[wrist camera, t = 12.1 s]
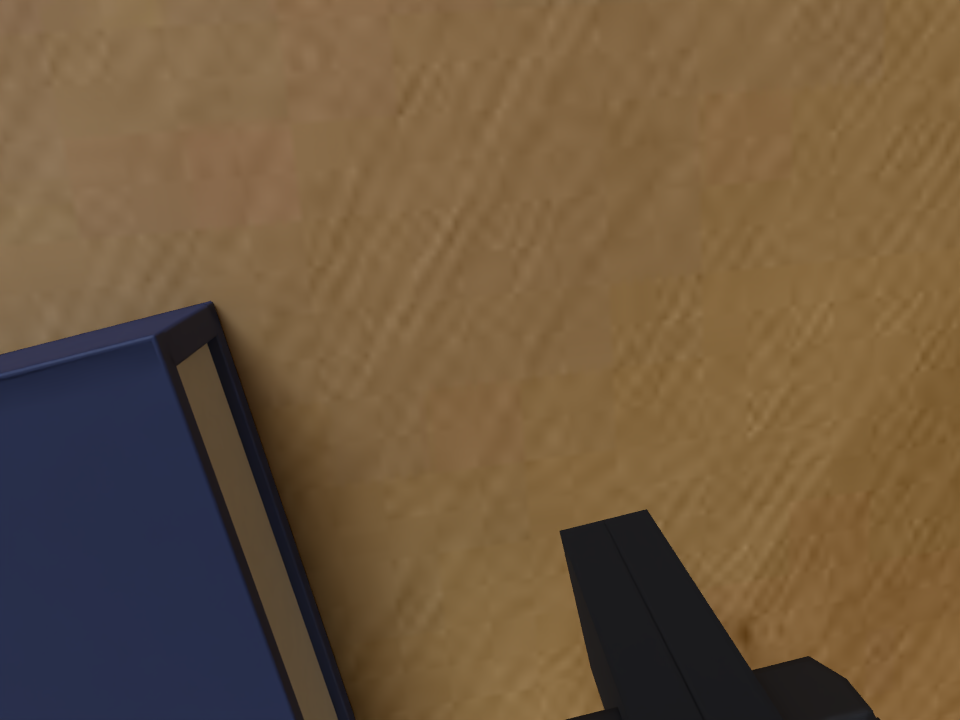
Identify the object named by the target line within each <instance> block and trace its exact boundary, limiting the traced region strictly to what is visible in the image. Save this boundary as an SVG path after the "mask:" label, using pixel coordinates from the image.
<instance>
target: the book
mask: <svg viewBox="0 0 960 720" xmlns="http://www.w3.org/2000/svg"><path fill="white" fill-rule="evenodd" d="M0 720H355V717H354V714H353V711H352V708H351V705H350V702H349V699H348V696H347V694H346V691H345V688H344V685H343V682H342V679H341V676H340V673H339V670H338V667H337V664H336V661H335V658H334V655H333V653H332V650H331V647H330V644H329V641H328V638H327V635H326V632H325V629H324V626H323V623H322V620H321V617H320V614H319V611H318V609H317V606H316V603H315V600H314V597H313V594H312V591H311V588H310V585H309V582H308V579H307V576H306V573H305V570H304V567H303V565H302V562H301V559H300V556H299V553H298V550H297V547H296V544H295V541H294V538H293V535H292V532H291V529H290V526H289V524H288V521H287V518H286V515H285V512H284V509H283V506H282V503H281V500H280V497H279V494H278V491H277V488H276V485H275V482H274V480H273V477H272V474H271V471H270V468H269V465H268V462H267V459H266V456H265V453H264V450H263V447H262V444H261V441H260V438H259V436H258V433H257V430H256V427H255V424H254V421H253V418H252V415H251V412H250V409H249V406H248V403H247V400H246V397H245V395H244V392H243V389H242V386H241V383H240V380H239V377H238V374H237V371H236V368H235V365H234V362H233V359H232V356H231V353H230V351H229V348H228V345H227V342H226V339H225V336H224V333H223V330H222V327H221V324H220V321H219V318H218V315H217V312H216V310H215V307H214V304H213V302H211V301H209V302H205V303H201V304H197V305H193V306H189V307H185V308H181V309H178V310H174V311H170V312H166V313H162V314H158V315H154V316H150V317H146V318H142V319H138V320H134V321H130V322H127V323H123V324H119V325H115V326H111V327H107V328H103V329H99V330H95V331H91V332H87V333H83V334H79V335H75V336H72V337H68V338H64V339H60V340H56V341H52V342H48V343H44V344H40V345H36V346H32V347H28V348H24V349H21V350H17V351H13V352H9V353H5V354H1V355H0Z"/></svg>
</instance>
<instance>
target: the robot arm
mask: <svg viewBox="0 0 960 720" xmlns="http://www.w3.org/2000/svg"><path fill="white" fill-rule="evenodd" d="M560 535H561V539H562V544H563V548H564V552H565V557H566V561H567V565H568V570H569V574H570V579H571V583H572V587H573V592H574V596H575V600H576V605H577V609H578V614H579V618H580V622H581V627H582V631H583V636H584V640H585V644H586V649H587V653H588V657H589V662H590V666H591V670H592V673H593V676H594V679H595V682H596V685H597V688H598V691H599V694H600V697H601V700H602V703H603V706H604V709H605V710H602V711H598V712H594V713H590V714H586V715H582V716H578V717H574V718H570V719H566V720H880V719H879V718H876V717H875V715H874V713H873V710H872V709H871V708H870V707H869V706H868V704H867V703H866V702H865V701H864V699H863V698H862V697H861V696H860V695H859V693H858V692H857V691H856V690H855V689H854V687H853V686H852V685H851V684H850V683H849V681H848V680H847V679H846V678H844V677H842V676H841V675H839V674H838V673H836V672H834V671H833V670H831V669H829V668H828V667H826V666H824V665H823V664H821V663H819V662H818V661H816V660H814V659H813V658H811V657H809V656H807V657H803V658H799V659H795V660H791V661H787V662H783V663H779V664H775V665H771V666H767V667H763V668H759V669H755V670H751V669H750V667H749V666H748V664H747V663H746V661H745V660H744V658H743V657H742V655H741V653H740V652H739V650H738V649H737V647H736V646H735V644H734V643H733V641H732V640H731V638H730V637H729V635H728V633H727V632H726V630H725V629H724V627H723V626H722V624H721V623H720V621H719V620H718V618H717V617H716V615H715V613H714V612H713V610H712V609H711V607H710V606H709V604H708V603H707V601H706V600H705V598H704V597H703V595H702V593H701V592H700V590H699V589H698V587H697V586H696V584H695V583H694V581H693V580H692V578H691V577H690V575H689V573H688V572H687V570H686V569H685V567H684V566H683V564H682V563H681V561H680V560H679V558H678V557H677V555H676V553H675V552H674V550H673V549H672V547H671V546H670V544H669V543H668V541H667V540H666V538H665V537H664V535H663V534H662V532H661V530H660V529H659V527H658V526H657V524H656V523H655V521H654V520H653V518H652V517H651V515H650V514H649V512H648V510H647V509H646V510H642V511H638V512H634V513H630V514H626V515H622V516H618V517H614V518H610V519H606V520H602V521H598V522H594V523H590V524H586V525H582V526H578V527H573V528H569V529H565V530H561V531H560Z"/></svg>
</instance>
